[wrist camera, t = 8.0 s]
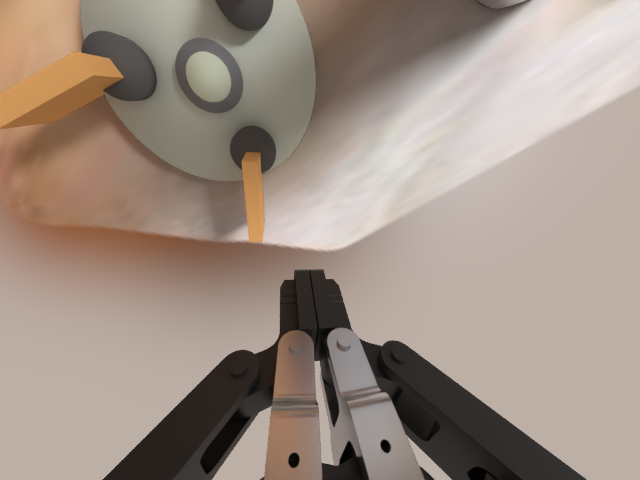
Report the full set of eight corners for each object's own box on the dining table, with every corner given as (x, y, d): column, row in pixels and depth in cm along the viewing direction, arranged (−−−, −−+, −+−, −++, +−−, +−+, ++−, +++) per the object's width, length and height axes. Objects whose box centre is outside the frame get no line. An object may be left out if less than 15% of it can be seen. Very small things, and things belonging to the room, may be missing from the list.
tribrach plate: (320, -46, 17) (328, -70, 15) (307, 178, 26) (311, 187, 24) (50, -102, 14) (0, -146, 12) (141, 172, 23) (124, 182, 21)
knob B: (229, 124, 20) (218, 131, 16) (275, 127, 21) (275, 135, 17) (240, 219, 25) (233, 242, 21) (277, 220, 26) (277, 241, 22)
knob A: (126, 23, 16) (79, 2, 12) (168, 87, 18) (140, 85, 14) (17, 85, 17) (-57, 83, 13) (71, 139, 19) (20, 150, 15)
